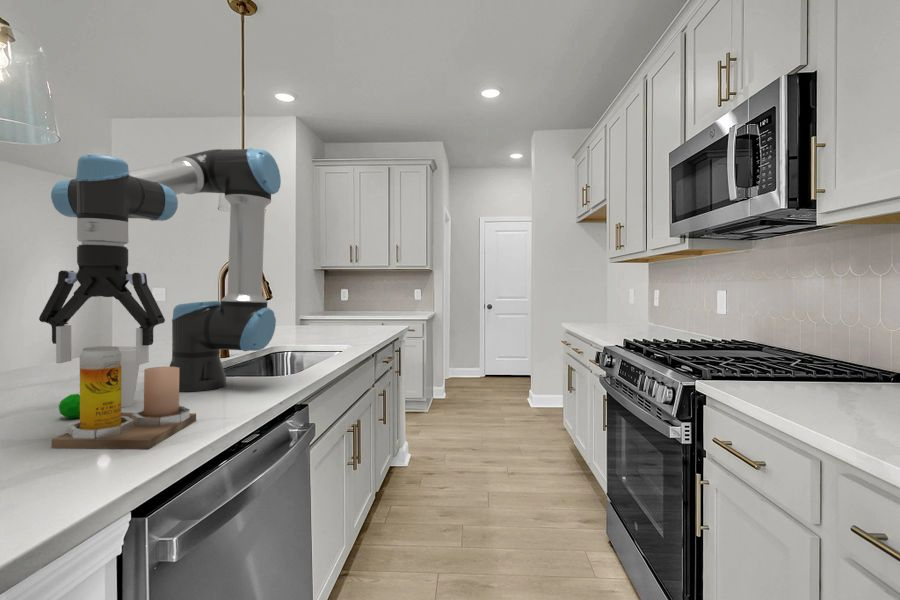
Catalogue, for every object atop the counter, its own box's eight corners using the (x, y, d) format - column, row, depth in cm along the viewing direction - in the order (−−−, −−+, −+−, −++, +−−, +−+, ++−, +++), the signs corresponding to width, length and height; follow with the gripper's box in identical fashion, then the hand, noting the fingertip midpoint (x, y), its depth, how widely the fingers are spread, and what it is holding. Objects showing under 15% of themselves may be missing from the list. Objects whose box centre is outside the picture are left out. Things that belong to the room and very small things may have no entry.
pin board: (116, 419, 102) (116, 412, 102) (196, 420, 103) (196, 413, 103) (51, 448, 84) (51, 439, 84) (148, 449, 85) (149, 440, 85)
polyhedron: (81, 420, 101) (82, 397, 100) (53, 421, 99) (53, 398, 99) (93, 414, 105) (93, 392, 105) (66, 414, 104) (66, 392, 104)
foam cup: (142, 399, 120) (143, 345, 119) (138, 408, 112) (139, 350, 111) (95, 402, 116) (95, 346, 115) (87, 411, 107) (87, 351, 107)
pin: (153, 415, 101) (154, 366, 100) (184, 415, 101) (185, 366, 101) (137, 423, 95) (137, 371, 94) (169, 423, 95) (170, 371, 95)
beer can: (100, 437, 86) (100, 351, 85) (71, 434, 87) (70, 349, 86) (129, 427, 92) (129, 346, 91) (101, 424, 93) (101, 345, 92)
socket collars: (117, 412, 102) (117, 405, 102) (195, 413, 103) (195, 406, 103) (55, 438, 84) (55, 429, 84) (150, 439, 85) (150, 431, 85)
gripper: (12, 240, 84) (13, 365, 85) (164, 245, 85) (164, 367, 86) (45, 243, 91) (46, 358, 92) (185, 248, 93) (184, 360, 94)
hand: (103, 363), depth 89 cm, fingers open, 13 cm apart
